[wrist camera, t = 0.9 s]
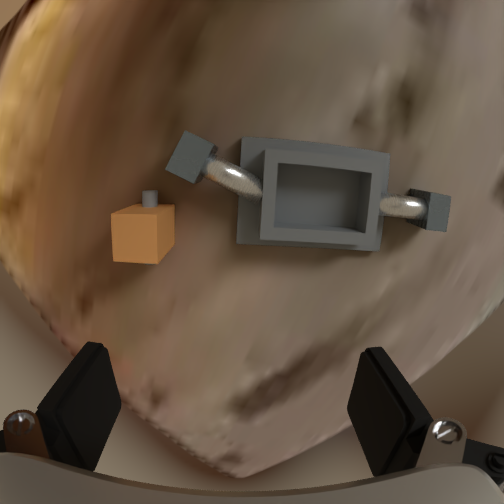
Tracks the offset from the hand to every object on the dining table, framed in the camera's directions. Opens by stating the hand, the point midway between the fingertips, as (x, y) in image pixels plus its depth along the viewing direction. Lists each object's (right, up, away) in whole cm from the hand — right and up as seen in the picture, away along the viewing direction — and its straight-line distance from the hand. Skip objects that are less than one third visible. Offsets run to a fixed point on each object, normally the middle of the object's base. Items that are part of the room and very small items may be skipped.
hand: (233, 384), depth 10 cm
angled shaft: (-2, +13, +21) cm, 24 cm away
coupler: (-10, +8, +22) cm, 25 cm away
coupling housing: (+7, +11, +22) cm, 25 cm away
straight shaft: (+17, +10, +22) cm, 30 cm away
